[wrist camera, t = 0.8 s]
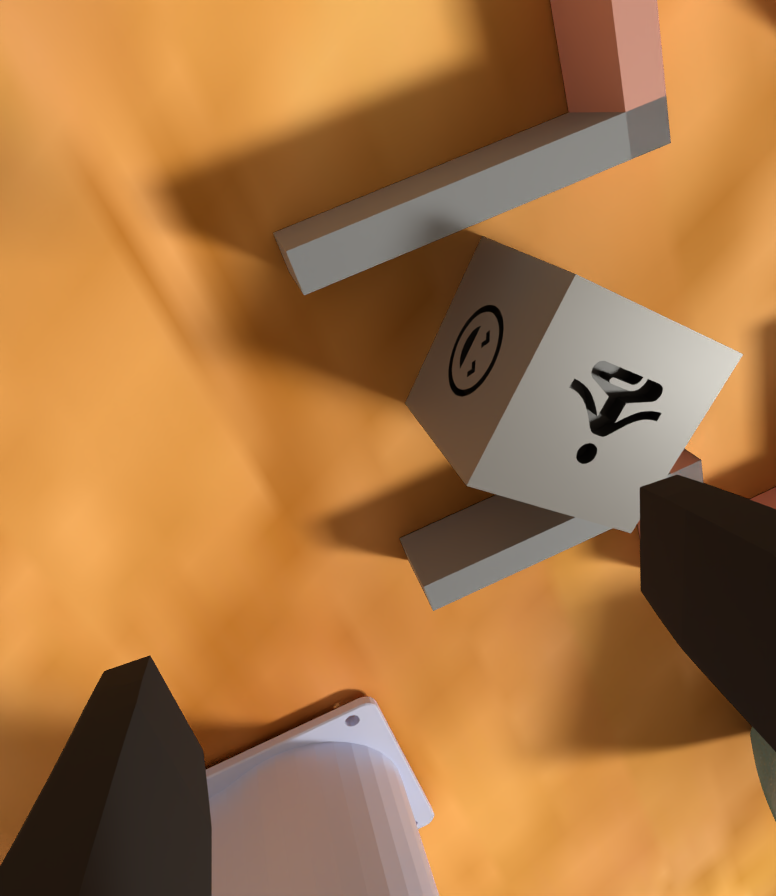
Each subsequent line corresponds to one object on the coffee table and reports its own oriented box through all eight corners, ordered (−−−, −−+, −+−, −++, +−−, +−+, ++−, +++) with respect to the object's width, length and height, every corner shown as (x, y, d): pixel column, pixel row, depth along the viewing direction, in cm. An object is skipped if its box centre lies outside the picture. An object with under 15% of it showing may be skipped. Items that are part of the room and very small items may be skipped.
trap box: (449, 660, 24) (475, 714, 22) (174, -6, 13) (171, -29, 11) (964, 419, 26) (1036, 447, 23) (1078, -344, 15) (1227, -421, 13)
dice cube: (620, 301, 19) (743, 354, 15) (540, 448, 21) (631, 533, 17) (480, 235, 17) (576, 274, 13) (403, 402, 19) (466, 485, 15)
